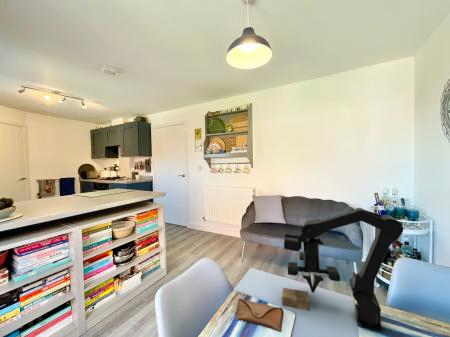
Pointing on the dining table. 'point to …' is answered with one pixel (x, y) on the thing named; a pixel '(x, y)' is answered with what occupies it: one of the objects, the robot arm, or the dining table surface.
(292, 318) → the dining table surface
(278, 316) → the sunglasses case
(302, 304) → the walnut block
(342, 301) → the dining table surface
